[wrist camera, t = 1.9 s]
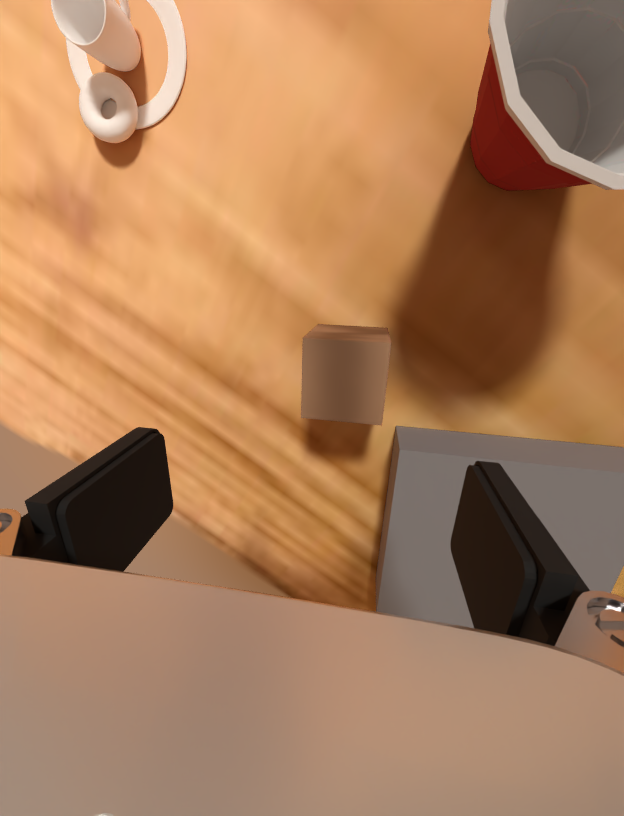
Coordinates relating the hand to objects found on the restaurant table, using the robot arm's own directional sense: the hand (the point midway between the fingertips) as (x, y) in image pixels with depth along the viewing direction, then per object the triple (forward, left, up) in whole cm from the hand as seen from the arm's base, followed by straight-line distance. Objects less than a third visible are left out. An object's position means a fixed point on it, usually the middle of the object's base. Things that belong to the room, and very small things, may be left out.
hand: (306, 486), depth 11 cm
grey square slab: (-12, +13, -17) cm, 24 cm away
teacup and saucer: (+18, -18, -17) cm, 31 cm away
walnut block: (0, 0, -17) cm, 17 cm away
